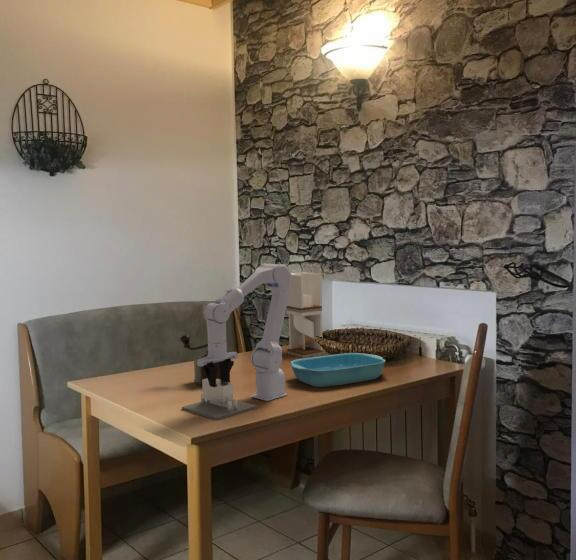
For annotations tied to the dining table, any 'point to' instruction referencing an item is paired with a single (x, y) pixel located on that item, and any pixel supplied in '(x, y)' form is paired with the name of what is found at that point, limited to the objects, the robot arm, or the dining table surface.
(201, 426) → the dining table surface
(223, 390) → the block
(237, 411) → the dock
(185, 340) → the brown wooden grinder
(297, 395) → the dining table surface
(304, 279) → the cream table lamp
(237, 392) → the dining table surface
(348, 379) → the casserole dish
